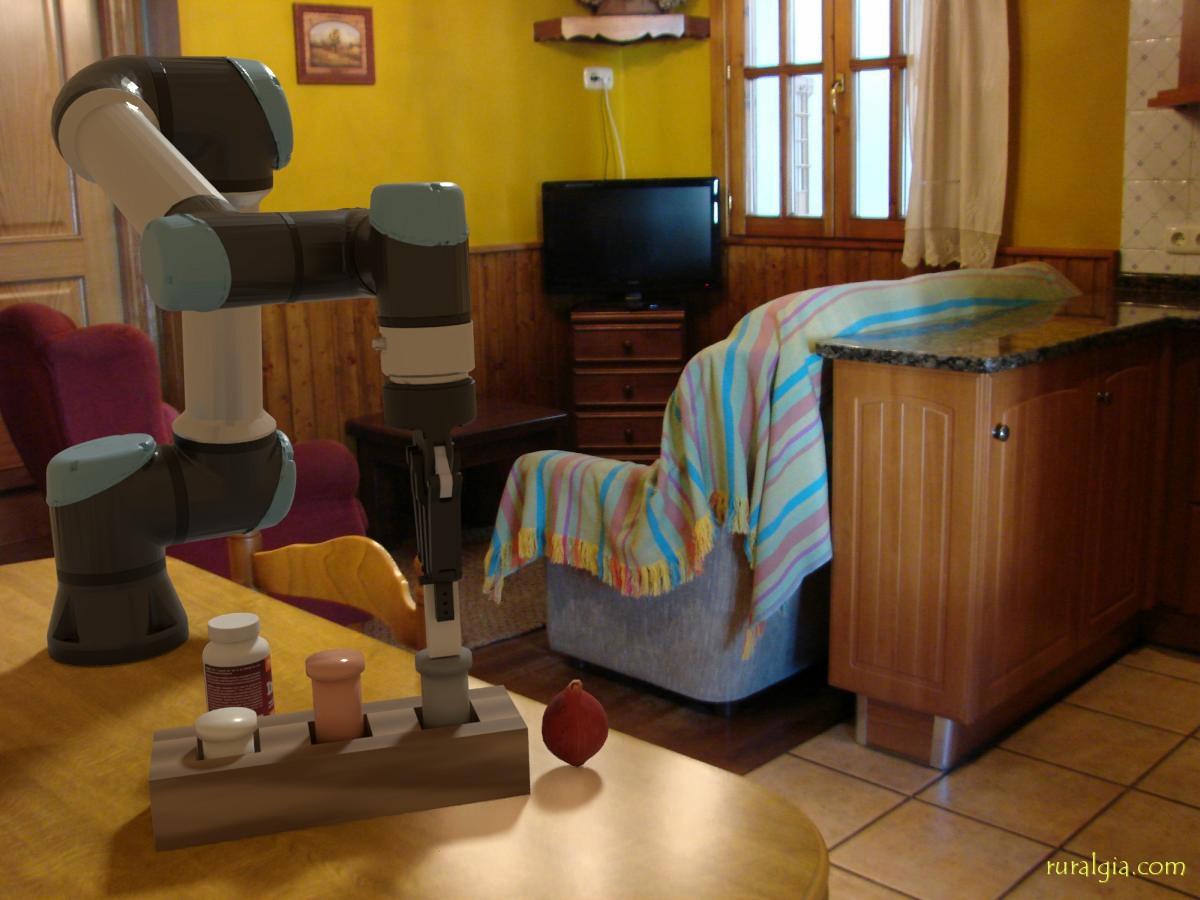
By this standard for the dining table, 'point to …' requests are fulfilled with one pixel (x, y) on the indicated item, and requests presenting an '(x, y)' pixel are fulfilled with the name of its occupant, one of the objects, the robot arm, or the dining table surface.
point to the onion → (574, 725)
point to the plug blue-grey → (444, 688)
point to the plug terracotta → (337, 694)
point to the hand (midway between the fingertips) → (444, 653)
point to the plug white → (227, 732)
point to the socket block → (336, 771)
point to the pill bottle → (238, 665)
